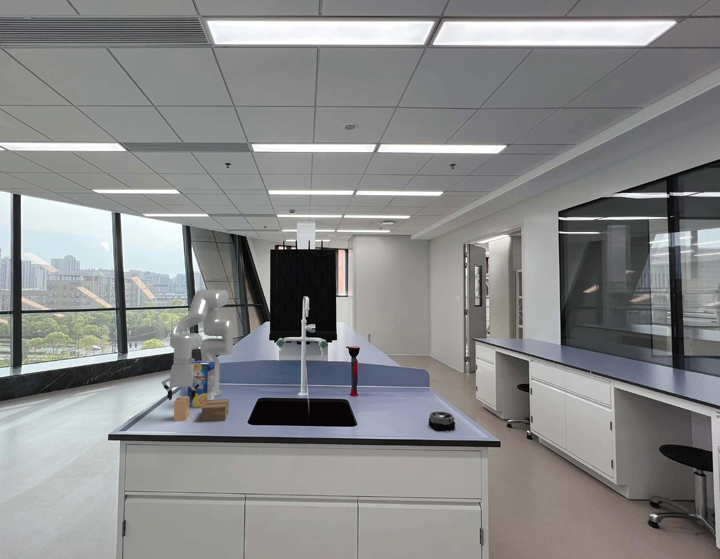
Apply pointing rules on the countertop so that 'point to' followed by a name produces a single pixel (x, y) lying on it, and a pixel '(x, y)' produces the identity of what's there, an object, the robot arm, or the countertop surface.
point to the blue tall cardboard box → (203, 383)
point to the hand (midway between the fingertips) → (181, 399)
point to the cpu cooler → (441, 421)
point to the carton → (181, 409)
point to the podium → (215, 410)
